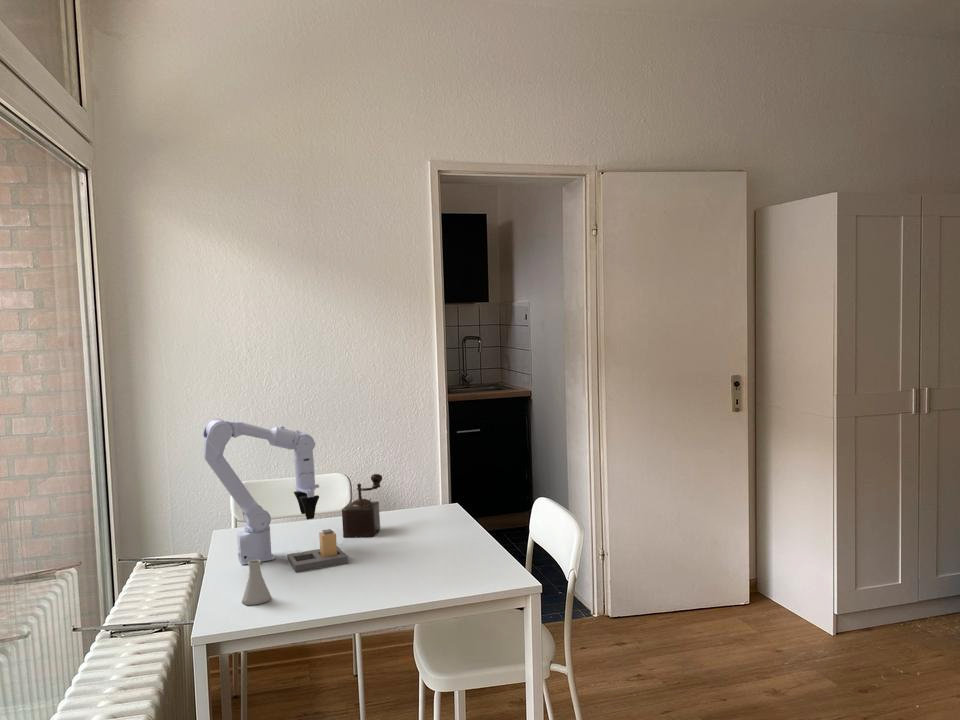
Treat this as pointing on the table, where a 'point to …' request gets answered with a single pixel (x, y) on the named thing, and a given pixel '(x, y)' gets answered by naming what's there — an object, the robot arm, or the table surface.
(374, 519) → the manual coffee grinder
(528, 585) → the table surface
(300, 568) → the socket block
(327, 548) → the plug
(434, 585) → the table surface
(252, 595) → the flask
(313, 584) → the table surface
